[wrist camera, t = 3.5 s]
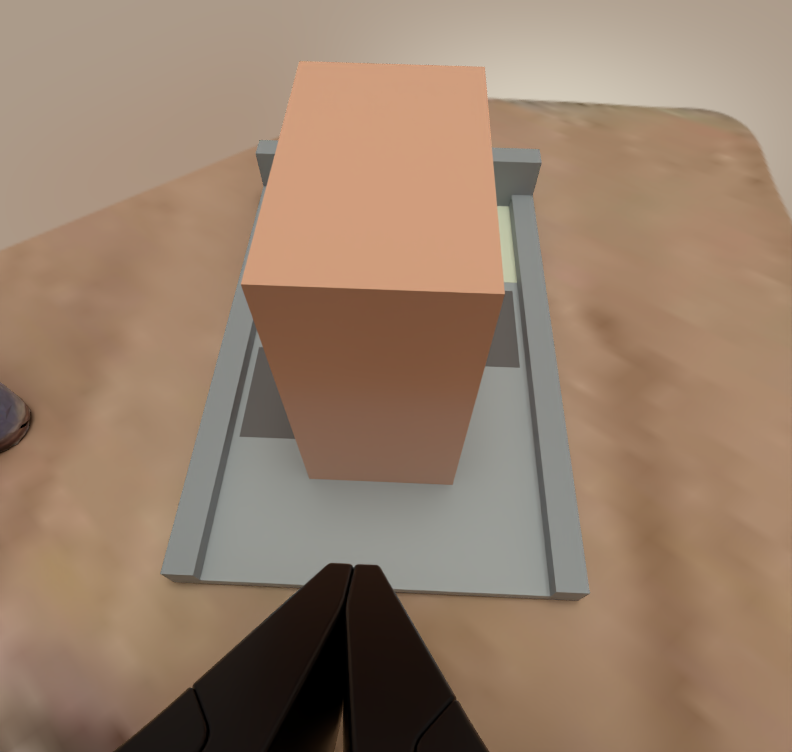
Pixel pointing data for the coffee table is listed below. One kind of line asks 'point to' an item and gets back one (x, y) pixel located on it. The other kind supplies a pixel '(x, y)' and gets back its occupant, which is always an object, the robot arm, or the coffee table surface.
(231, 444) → the slate lane
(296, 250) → the terracotta block
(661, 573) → the coffee table surface
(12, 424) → the flask
